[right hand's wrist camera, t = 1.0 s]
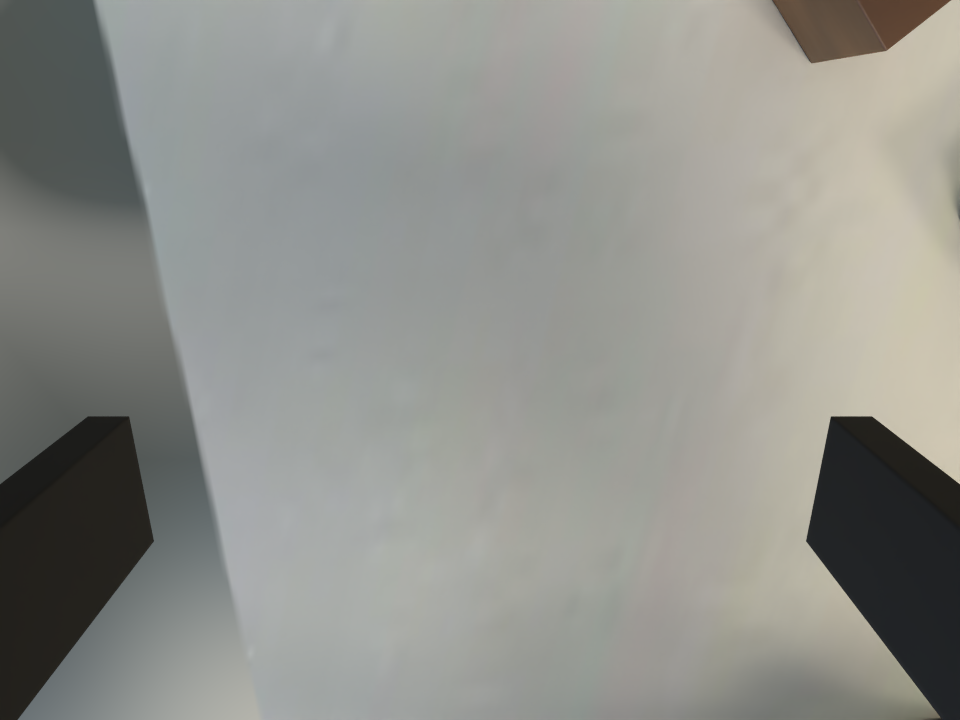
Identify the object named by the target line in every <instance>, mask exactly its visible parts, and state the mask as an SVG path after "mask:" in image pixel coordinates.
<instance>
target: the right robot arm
mask: <svg viewBox="0 0 960 720" xmlns="http://www.w3.org/2000/svg"><path fill="white" fill-rule="evenodd" d="M153 542H154V540H153V535H152V530H151V525H150V520H149V515H148V510H147V505H146V499H145V495H144V490H143V484H142V479H141V475H140V469H139V464H138V459H137V454H136V449H135V444H134V439H133V434H132V429H131V424H130V419H129V417H87V418H86V419H84V420H83V421H82V422H80V423H79V424H78V425H77V426H75V427H74V428H73V429H71V430H70V431H69V432H67V433H66V434H65V435H64V436H62V437H61V438H60V439H58V440H57V441H56V442H54V443H53V444H52V445H51V446H49V447H48V448H47V449H45V450H44V451H43V452H42V453H40V454H39V455H38V456H36V457H35V458H34V459H32V460H31V461H30V462H29V463H27V464H26V465H25V466H23V467H22V468H21V469H19V470H18V471H17V472H16V473H14V474H13V475H12V476H10V477H9V478H8V479H6V480H5V481H4V482H3V483H1V484H0V720H18V718H19V717H20V716H21V714H22V713H23V712H24V710H25V709H26V708H27V707H28V705H29V704H30V703H31V701H32V700H33V699H34V697H35V696H36V695H37V693H38V692H39V691H40V690H41V688H42V687H43V686H44V684H45V683H46V682H47V680H48V679H49V678H50V676H51V675H52V674H53V673H54V671H55V670H56V669H57V667H58V666H59V665H60V663H61V662H62V661H63V659H64V658H65V657H66V655H67V654H68V653H69V651H70V650H71V649H72V648H73V646H74V645H75V644H76V642H77V641H78V640H79V638H80V637H81V636H82V635H83V633H84V632H85V631H86V629H87V628H88V627H89V625H90V624H91V623H92V621H93V620H94V619H95V617H96V616H97V615H98V614H99V612H100V611H101V610H102V608H103V607H104V606H105V604H106V603H107V602H108V601H109V599H110V598H111V597H112V595H113V594H114V593H115V591H116V590H117V589H118V587H119V586H120V585H121V583H122V582H123V581H124V580H125V578H126V577H127V576H128V574H129V573H130V572H131V570H132V569H133V568H134V566H135V565H136V564H137V563H138V561H139V560H140V559H141V557H142V556H143V555H144V553H145V552H146V551H147V549H148V548H149V547H150V545H151V544H152V543H153ZM806 542H807V543H808V544H809V545H810V547H811V548H812V549H813V551H814V552H815V553H816V555H817V556H818V557H819V559H820V560H821V561H822V563H823V564H824V565H825V566H826V568H827V569H828V570H829V572H830V573H831V574H832V576H833V577H834V578H835V580H836V581H837V582H838V583H839V585H840V586H841V587H842V589H843V590H844V591H845V593H846V594H847V595H848V597H849V598H850V599H851V601H852V602H853V603H854V604H855V606H856V607H857V608H858V610H859V611H860V612H861V614H862V615H863V616H864V618H865V619H866V620H867V621H868V623H869V624H870V625H871V627H872V628H873V629H874V631H875V632H876V633H877V635H878V636H879V637H880V638H881V640H882V641H883V642H884V644H885V645H886V646H887V648H888V649H889V650H890V652H891V653H892V654H893V656H894V657H895V658H896V659H897V661H898V662H899V663H900V665H901V666H902V667H903V669H904V670H905V671H906V673H907V674H908V675H909V676H910V678H911V679H912V680H913V682H914V683H915V684H916V686H917V687H918V688H919V690H920V691H921V692H922V693H923V695H924V696H925V697H926V699H927V700H928V701H929V703H930V704H931V705H932V707H933V708H934V709H935V711H936V712H937V713H938V714H939V716H940V717H941V718H942V720H960V484H959V483H957V482H956V481H955V480H954V479H952V478H951V477H950V476H948V475H947V474H946V473H944V472H943V471H942V470H941V469H939V468H938V467H937V466H935V465H934V464H933V463H931V462H930V461H929V460H928V459H926V458H925V457H924V456H922V455H921V454H920V453H919V452H917V451H916V450H915V449H913V448H912V447H911V446H909V445H908V444H907V443H906V442H904V441H903V440H902V439H900V438H899V437H898V436H897V435H895V434H894V433H893V432H891V431H890V430H889V429H887V428H886V427H885V426H884V425H882V424H881V423H880V422H878V421H877V420H876V419H874V418H873V417H831V419H830V424H829V429H828V434H827V439H826V444H825V449H824V454H823V459H822V464H821V469H820V474H819V479H818V484H817V489H816V494H815V499H814V504H813V510H812V515H811V520H810V525H809V530H808V535H807V540H806Z"/></svg>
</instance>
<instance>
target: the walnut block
mask: <svg viewBox="0 0 960 720" xmlns="http://www.w3.org/2000/svg"><path fill="white" fill-rule="evenodd" d="M773 1H774V3H775V4H776V6H777V8H778V9H779V11H780V13H781V14H782V16H783V18H784V19H785V21H786V22H787V24H788V26H789V27H790V29H791V31H792V32H793V34H794V35H795V37H796V39H797V40H798V42H799V44H800V45H801V47H802V49H803V50H804V52H805V53H806V55H807V57H808V58H809V60H810V62H811V63H816V62H822V61H828V60H834V59H840V58H846V57H852V56H858V55H864V54H870V53H876V52H882V51H887V50H888V49H889V48H891V47H892V46H893V45H894V44H896V43H897V42H898V41H900V40H901V39H902V38H903V37H905V36H906V35H907V34H908V33H910V32H911V31H912V30H914V29H915V28H916V27H917V26H919V25H920V24H921V23H923V22H924V21H925V20H926V19H928V18H929V17H930V16H931V15H933V14H934V13H935V12H937V11H938V10H939V9H940V8H942V7H943V6H944V5H946V4H947V3H948V2H949V1H951V0H773Z"/></svg>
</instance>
